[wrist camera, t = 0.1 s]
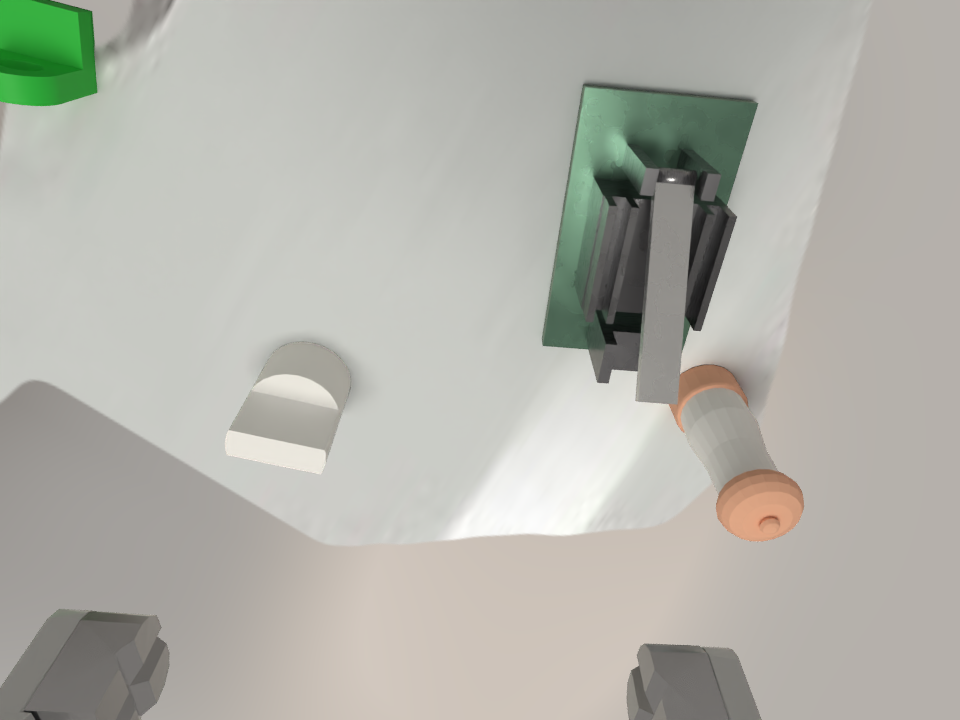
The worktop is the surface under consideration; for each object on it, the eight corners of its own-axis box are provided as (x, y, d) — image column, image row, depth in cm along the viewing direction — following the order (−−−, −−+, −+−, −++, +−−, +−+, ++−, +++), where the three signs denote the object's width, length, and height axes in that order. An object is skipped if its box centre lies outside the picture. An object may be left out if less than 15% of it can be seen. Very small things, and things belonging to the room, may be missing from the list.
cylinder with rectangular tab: (262, 401, 67) (222, 478, 57) (269, 332, 63) (227, 402, 52) (344, 419, 68) (319, 497, 58) (357, 353, 64) (332, 425, 54)
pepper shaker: (708, 429, 69) (776, 570, 52) (654, 404, 67) (707, 543, 51) (751, 380, 65) (839, 516, 49) (695, 354, 63) (766, 485, 47)
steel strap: (652, 169, 48) (658, 164, 46) (690, 173, 48) (697, 167, 46) (634, 400, 48) (639, 401, 46) (672, 403, 48) (678, 404, 46)
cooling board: (582, 84, 50) (599, 104, 43) (752, 100, 50) (797, 122, 43) (541, 339, 63) (548, 388, 55) (677, 350, 63) (702, 399, 56)
